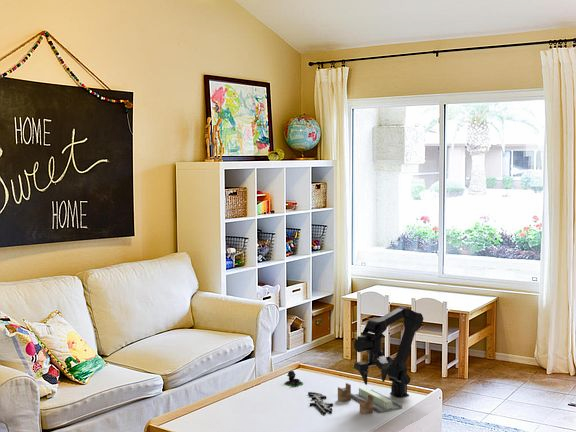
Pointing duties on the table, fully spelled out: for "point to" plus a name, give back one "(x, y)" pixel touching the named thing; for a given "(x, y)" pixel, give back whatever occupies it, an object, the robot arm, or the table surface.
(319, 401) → the nameplate
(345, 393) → the hook post
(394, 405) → the track
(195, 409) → the table surface
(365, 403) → the hook post
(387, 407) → the rail
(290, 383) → the toy figurine
